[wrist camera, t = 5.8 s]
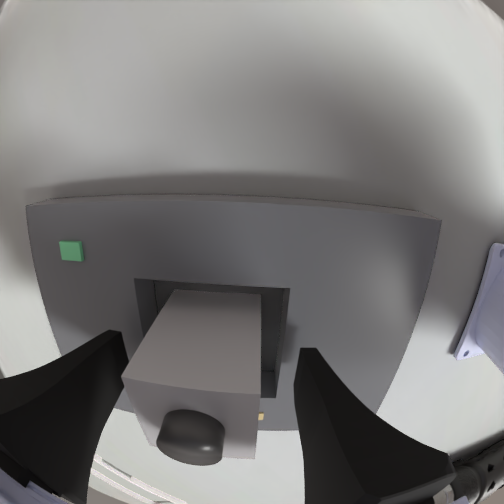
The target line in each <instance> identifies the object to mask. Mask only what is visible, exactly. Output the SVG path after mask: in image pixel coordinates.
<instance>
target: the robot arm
mask: <svg viewBox="0 0 504 504" xmlns="http://www.w3.org/2000/svg"><path fill="white" fill-rule="evenodd" d="M484 353H485V354H486V355H487V356H488V357H489V358H490V359H491V360H492V361H493V363H494V364H495V365H496V366H497V367H498V368H499V370H500V371H501V372H502V373H503V374H504V244H501V243H494V244H493V245H492V246H491V248H490V251H489V256H488V260H487V264H486V268H485V271H484V275H483V278H482V282H481V285H480V288H479V292H478V295H477V298H476V301H475V304H474V306H473V309H472V312H471V315H470V317H469V320H468V322H467V325H466V327H465V330H464V332H463V335H462V337H461V339H460V341H459V344H458V346H457V348H456V350H455V353H454V357H455V359H456V360H461V359H465V358H469V357H473V356H477V355H480V354H484ZM128 364H129V359H128V356H127V352H126V348H125V344H124V340H123V336H122V332H121V331H115V330H110V329H109V330H107V331H105V332H103V333H101V334H100V335H98V336H96V337H94V338H93V339H91V340H89V341H88V342H86V343H84V344H83V345H81V346H79V347H78V348H76V349H74V350H73V351H71V352H69V353H67V354H65V355H63V356H62V357H60V358H58V359H56V360H54V361H52V362H50V363H48V364H46V365H44V366H41V367H39V368H36V369H34V370H31V371H29V372H25V373H22V374H19V375H16V376H12V377H8V378H3V379H0V504H68V503H66V502H64V501H63V500H61V499H59V498H57V497H56V496H54V495H52V493H53V494H55V495H57V496H59V497H63V498H64V499H66V500H68V501H70V502H72V503H74V504H86V501H87V489H88V482H89V477H90V472H91V467H92V462H93V459H94V455H95V451H96V448H97V445H98V442H99V439H100V436H101V433H102V430H103V428H104V426H105V424H106V422H107V420H108V418H109V416H110V414H111V412H112V410H113V408H114V406H115V404H116V402H117V400H118V398H119V396H120V395H121V393H122V391H123V389H124V383H123V381H122V378H121V376H122V374H123V372H124V370H125V369H126V367H127V365H128ZM293 387H294V406H295V412H296V417H297V423H298V428H299V434H300V439H301V445H302V451H303V459H304V479H305V504H435V501H434V498H433V496H435V495H436V494H437V493H439V492H440V491H441V490H443V489H444V488H445V487H446V486H448V485H449V484H450V483H451V482H452V481H453V480H454V479H455V477H456V471H455V469H454V467H453V464H452V462H451V460H450V458H449V456H448V454H447V453H445V452H442V451H439V450H437V449H434V448H432V447H429V446H427V445H424V444H422V443H420V442H418V441H416V440H414V439H412V438H410V437H409V436H407V435H405V434H403V433H402V432H400V431H398V430H397V429H395V428H394V427H392V426H391V425H389V424H388V423H387V422H385V421H384V420H382V419H381V418H380V417H378V416H377V415H376V414H375V413H374V412H372V411H371V410H370V409H369V408H368V407H366V406H365V405H364V404H363V403H362V402H361V401H360V400H359V399H358V398H357V397H356V396H355V395H354V394H353V393H352V392H351V391H350V389H349V388H348V387H347V386H346V385H345V384H344V383H343V381H342V380H341V379H340V378H339V377H338V376H337V374H336V373H335V372H334V371H333V369H332V368H331V367H330V365H329V364H328V363H327V361H326V360H325V359H324V357H323V356H322V355H321V353H320V352H319V350H318V349H317V348H316V347H313V348H300V352H299V357H298V363H297V368H296V373H295V379H294V384H293ZM450 504H469V502H468V499H467V497H466V496H463V497H461V498H460V499H458V500H456V501H454V502H452V503H450Z"/></svg>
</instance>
